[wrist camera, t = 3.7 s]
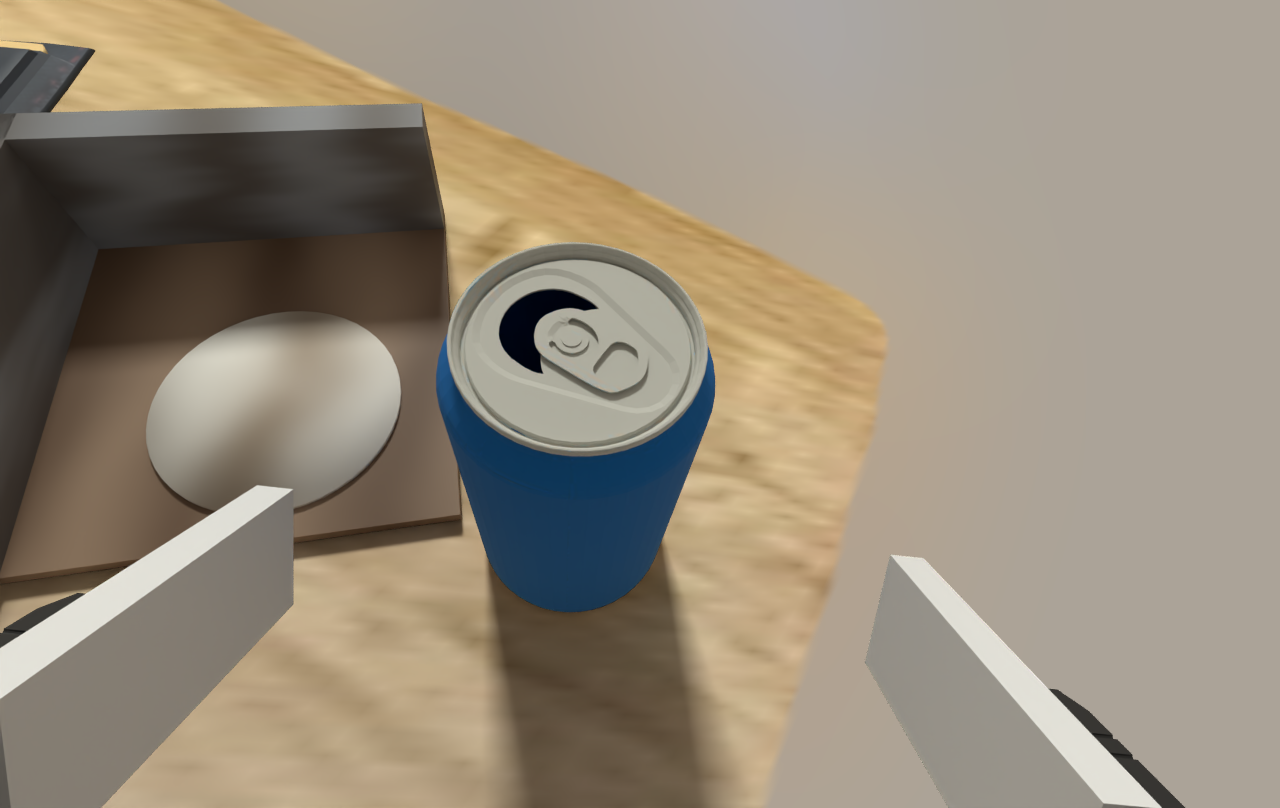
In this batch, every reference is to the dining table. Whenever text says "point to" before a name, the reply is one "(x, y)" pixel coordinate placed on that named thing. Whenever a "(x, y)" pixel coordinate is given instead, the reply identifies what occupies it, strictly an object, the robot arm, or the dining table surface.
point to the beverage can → (574, 416)
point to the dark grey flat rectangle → (37, 74)
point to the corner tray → (217, 326)
